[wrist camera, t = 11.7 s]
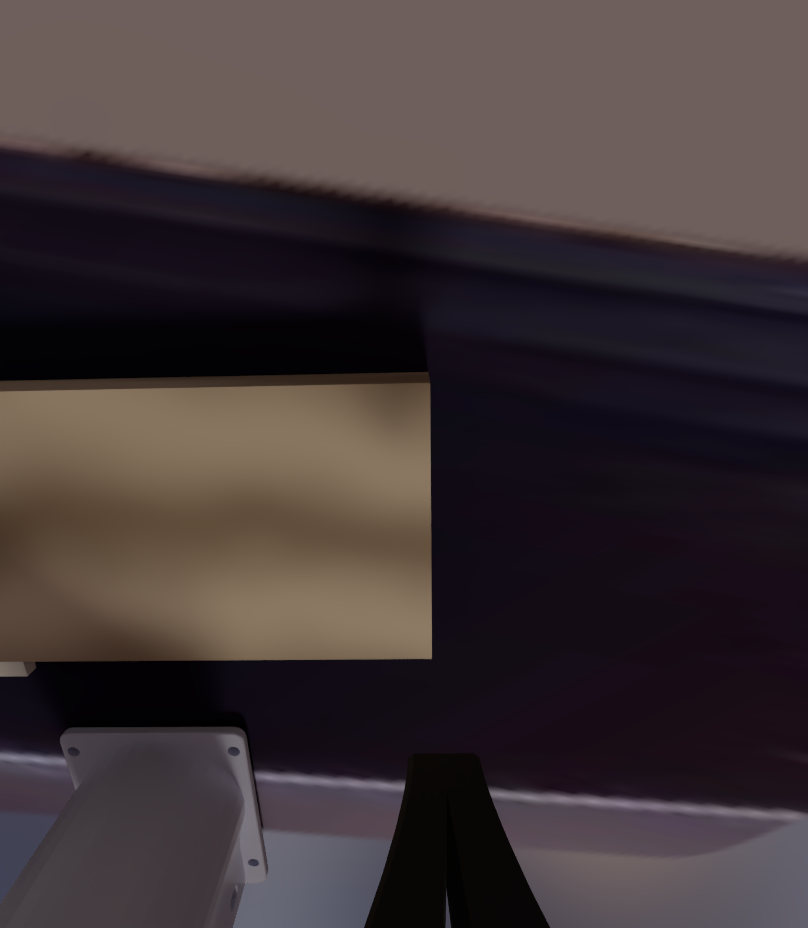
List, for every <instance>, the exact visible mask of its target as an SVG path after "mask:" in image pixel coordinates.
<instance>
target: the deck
mask: <svg viewBox="0 0 808 928" xmlns="http://www.w3.org/2000/svg"><path fill="white" fill-rule="evenodd" d="M322 659H432V603H431V448H430V380H429V374H428V372H406V373H358V374H310V375H262V376H213V377H165V378H117V379H69V380H21V381H0V662H49V661H186V660H322Z"/></svg>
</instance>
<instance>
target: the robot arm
mask: <svg viewBox="0 0 808 928" xmlns="http://www.w3.org/2000/svg"><path fill="white" fill-rule="evenodd" d="M60 743H61V746H62V749H63V752H64V755H65V759H66V762H67V765H68V768H69V771H70V774H71V777H72V780H73V783H74V786H75V789H76V791H75V793H74V794H73V796H72V797H71V799H70V800H69V802H68V803H67V805H66V806H65V808H64V809H63V811H62V812H61V814H60V815H59V817H58V818H57V820H56V821H55V823H54V824H53V826H52V827H51V829H50V830H49V832H48V833H47V835H46V836H45V838H44V839H43V841H42V842H41V844H40V845H39V847H38V848H37V850H36V851H35V853H34V854H33V856H32V857H31V859H30V860H29V862H28V863H27V865H26V866H25V868H24V869H23V871H22V872H21V874H20V875H19V877H18V878H17V880H16V881H15V883H14V884H13V886H12V887H11V889H10V890H9V892H8V893H7V895H6V896H5V898H4V899H3V901H2V902H1V904H0V928H233V925H234V921H235V918H236V914H237V910H238V907H239V903H240V900H241V896H242V892H243V889H244V886H245V883H261V882H263V881H264V880H265V879H266V877H267V873H268V864H267V858H266V852H265V846H264V840H263V834H262V828H261V822H260V816H259V810H258V804H257V798H256V791H255V785H254V779H253V773H252V767H251V761H250V755H249V749H248V743H247V737H246V734H245V732H244V731H243V730H242V729H240V728H238V727H74V728H69V729H67V730H66V731H65V732H64V733H63V735H62V736H61V738H60ZM234 747H236V748H234ZM446 889H447V897H448V905H449V913H450V922H451V928H550V927H549V925H548V923H547V921H546V919H545V917H544V915H543V913H542V911H541V909H540V907H539V905H538V903H537V901H536V899H535V897H534V895H533V893H532V891H531V889H530V887H529V885H528V883H527V880H526V878H525V876H524V874H523V872H522V870H521V867H520V865H519V863H518V861H517V859H516V856H515V854H514V852H513V850H512V847H511V845H510V843H509V841H508V838H507V836H506V834H505V831H504V829H503V826H502V824H501V821H500V819H499V816H498V814H497V811H496V809H495V806H494V804H493V801H492V798H491V795H490V793H489V790H488V787H487V784H486V781H485V778H484V774H483V771H482V768H481V764H480V760H479V758H478V757H477V756H476V755H475V754H413V755H412V756H410V757H409V758H408V769H407V777H406V784H405V790H404V795H403V800H402V804H401V809H400V813H399V817H398V821H397V825H396V829H395V833H394V836H393V840H392V843H391V847H390V850H389V854H388V857H387V861H386V864H385V868H384V871H383V874H382V877H381V880H380V883H379V886H378V889H377V892H376V895H375V898H374V901H373V903H372V906H371V909H370V912H369V915H368V918H367V921H366V924H365V927H364V928H445V923H446Z"/></svg>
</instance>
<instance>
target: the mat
mask: <svg viewBox="0 0 808 928" xmlns="http://www.w3.org/2000/svg"><path fill="white" fill-rule="evenodd" d="M35 668H36V665H35V662H0V676H29V675H30V673H31V672H32V671H33V670H34V669H35Z"/></svg>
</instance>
